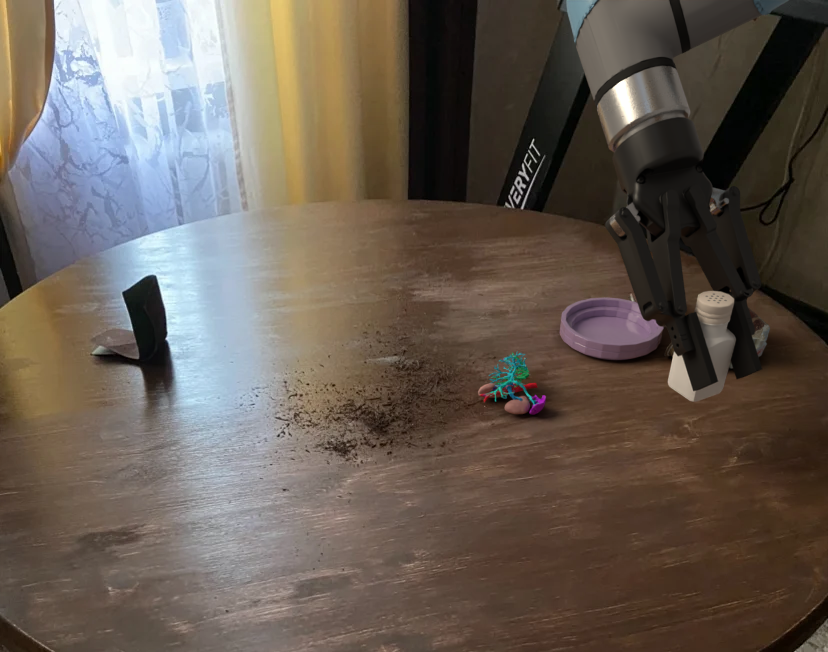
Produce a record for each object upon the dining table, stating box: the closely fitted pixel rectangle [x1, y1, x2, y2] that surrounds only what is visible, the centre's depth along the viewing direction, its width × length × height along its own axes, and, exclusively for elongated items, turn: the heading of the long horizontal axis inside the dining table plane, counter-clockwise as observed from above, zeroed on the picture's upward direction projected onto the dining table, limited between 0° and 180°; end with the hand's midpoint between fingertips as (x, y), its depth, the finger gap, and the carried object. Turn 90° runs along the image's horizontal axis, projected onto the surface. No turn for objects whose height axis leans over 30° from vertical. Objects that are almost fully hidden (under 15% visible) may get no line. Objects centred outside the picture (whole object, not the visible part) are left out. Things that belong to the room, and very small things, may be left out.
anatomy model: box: [477, 350, 547, 416], centre depth 91 cm, size 5×8×7 cm
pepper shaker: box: [667, 290, 736, 403], centre depth 78 cm, size 4×4×10 cm
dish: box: [559, 296, 665, 361], centre depth 103 cm, size 12×12×2 cm
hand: (727, 379), depth 76 cm, fingers closed on pepper shaker, 4 cm apart
